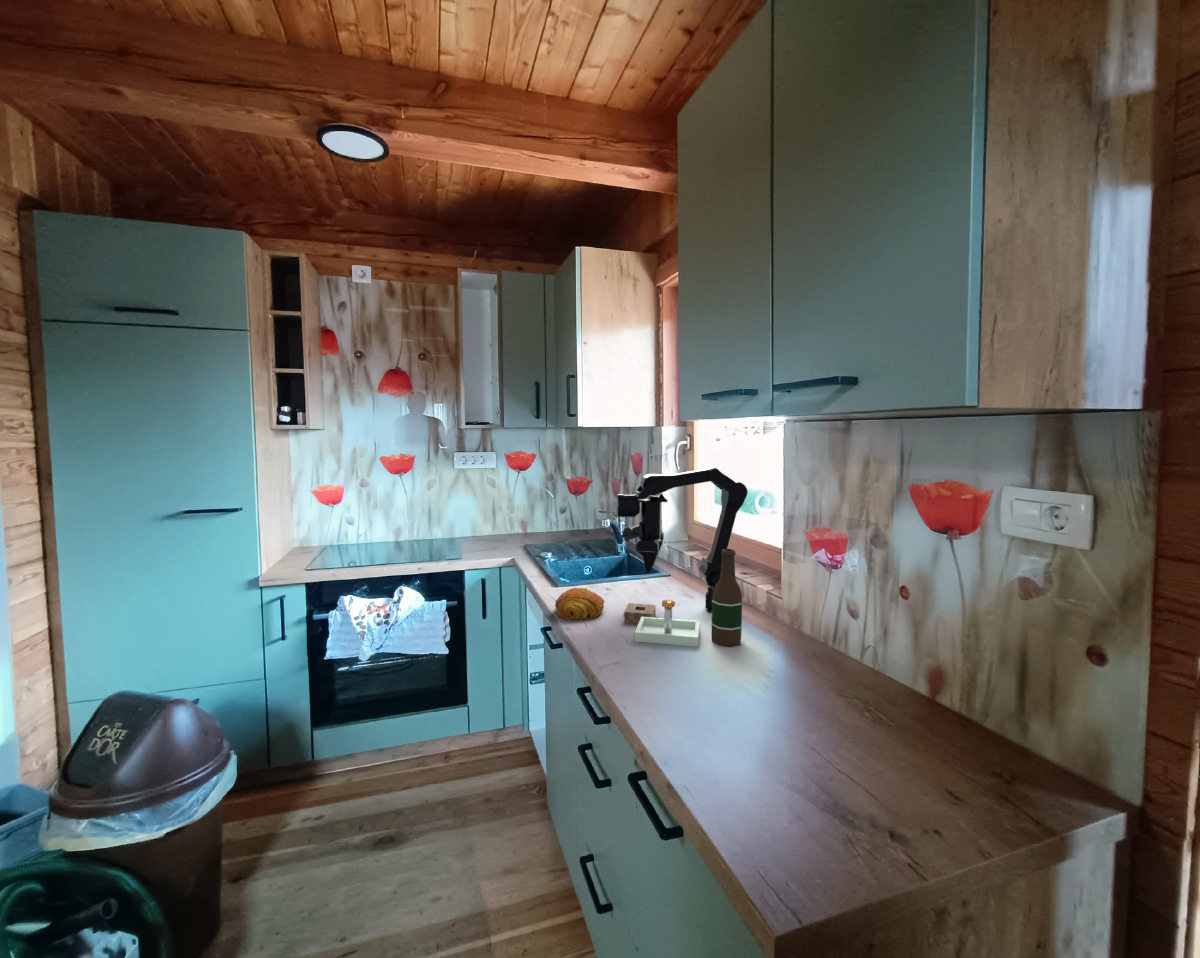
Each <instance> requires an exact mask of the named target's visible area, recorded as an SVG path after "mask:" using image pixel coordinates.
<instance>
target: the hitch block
mask: <svg viewBox="0 0 1200 958" xmlns="http://www.w3.org/2000/svg"><path fill="white" fill-rule="evenodd" d="M656 607H657V606H656V604H645V603H630V602H629V603H628V604H627V606H626V608H625V610H624V613H623V622H624V623H627V624H628V623H629V624H638V623H639V621H640V619H641V617H654V618H656V615H657V614H656V612H657V611H656Z"/></svg>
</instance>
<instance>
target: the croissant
mask: <svg viewBox="0 0 1200 958" xmlns="http://www.w3.org/2000/svg"><path fill="white" fill-rule="evenodd" d="M604 603H605V600H604V598H603V597H601V595H599V594H597V592H594V591H591V590H589V589H587V588H584V587H578V588H577V587H573V588H572V587H571V588H570V589H567V590H565V591H564V592H562V593H561V594H560V595H559V596H558V597H557V599H556V600H555V605H554V607H555V609H556V611H557V613H558V615H559V616H560V617H561V618H563V619H566V620H570V621H571V620H585V619H595V618H597V617H598V616H600V615H601V614H602V612H603V611H604V607H605V606H604Z"/></svg>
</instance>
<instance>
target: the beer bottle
mask: <svg viewBox="0 0 1200 958" xmlns="http://www.w3.org/2000/svg"><path fill="white" fill-rule="evenodd" d="M721 555H722V562H721V574H720V580H719V582H718V583H717V584H716V586H715V589H714V591H713V596H712V612H711V633H710V634H711V642H712V643H713V644H716V645H717V646H721V647H728V648H732V647H737V646H740V644H741V640H742V628H743V626H742V622H743V619H742V618H743V591H742V588H741V587H740V584H739V583H738V582H737V578H736V565H735V563H736V561H735V556H736V550H735V549H731V548H727V549H723V550H722V552H721Z"/></svg>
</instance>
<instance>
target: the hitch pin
mask: <svg viewBox="0 0 1200 958" xmlns="http://www.w3.org/2000/svg"><path fill="white" fill-rule="evenodd" d="M661 606H662V608H664V617H663V618H664V633H667V634H672V619H673V608H674V607H676V602H675V600H672V599H663V600H662V601H661Z"/></svg>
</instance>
